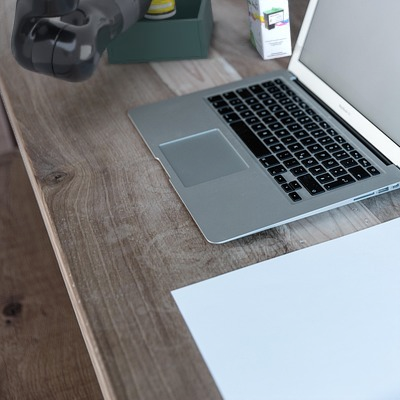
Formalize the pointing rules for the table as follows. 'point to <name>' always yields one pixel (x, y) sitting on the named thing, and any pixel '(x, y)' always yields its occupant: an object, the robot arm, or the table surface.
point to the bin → (167, 36)
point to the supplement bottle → (161, 9)
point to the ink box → (270, 27)
